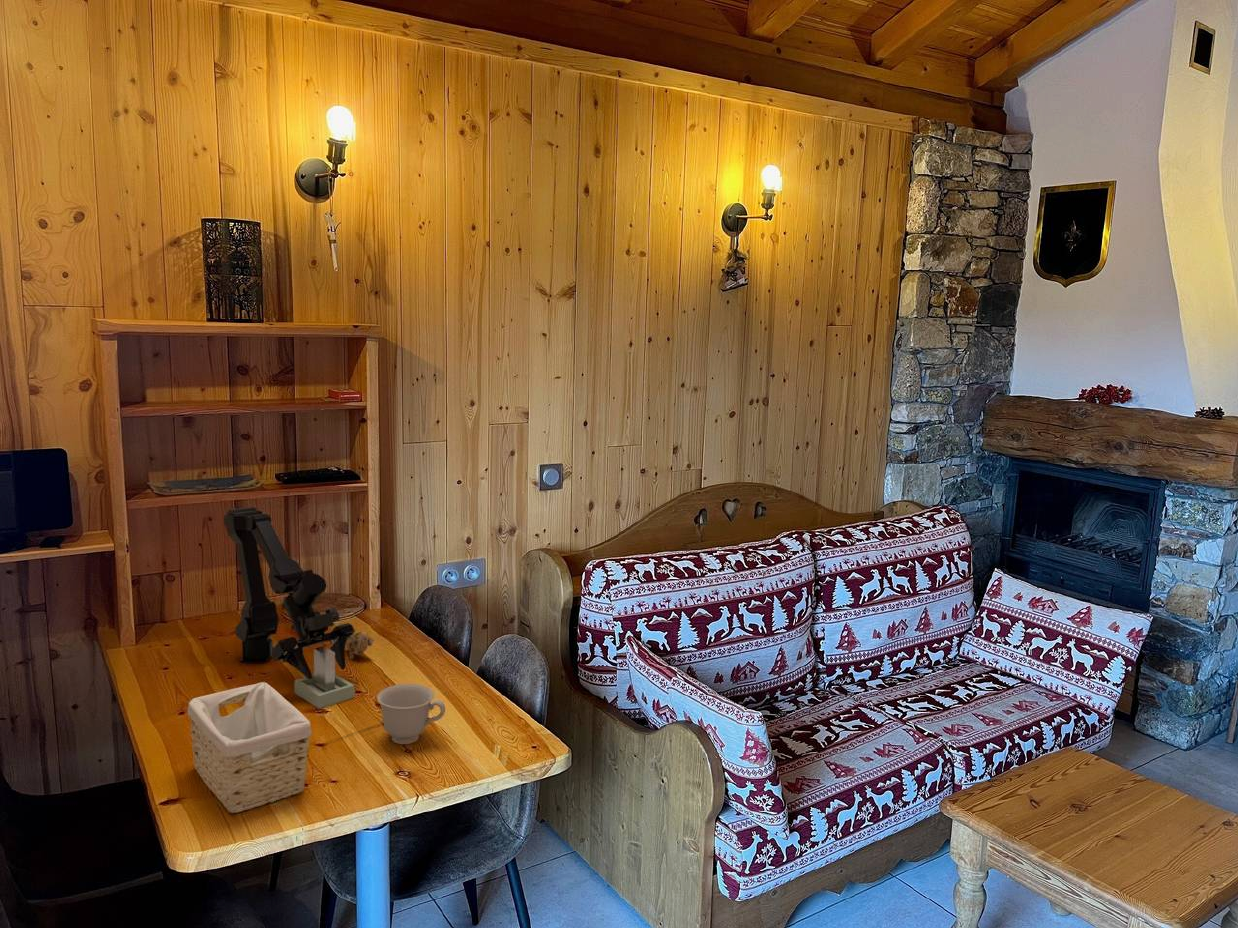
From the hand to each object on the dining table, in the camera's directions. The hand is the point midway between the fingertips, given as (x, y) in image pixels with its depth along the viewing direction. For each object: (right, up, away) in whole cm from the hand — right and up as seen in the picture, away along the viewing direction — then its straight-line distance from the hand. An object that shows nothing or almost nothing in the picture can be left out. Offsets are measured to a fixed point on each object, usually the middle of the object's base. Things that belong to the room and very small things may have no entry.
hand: (327, 673), depth 210 cm
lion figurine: (-2, -3, +27) cm, 27 cm away
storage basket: (-5, -13, -33) cm, 36 cm away
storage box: (-1, -6, +2) cm, 7 cm away
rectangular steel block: (-1, -5, +2) cm, 6 cm away
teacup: (+22, -11, -13) cm, 28 cm away
